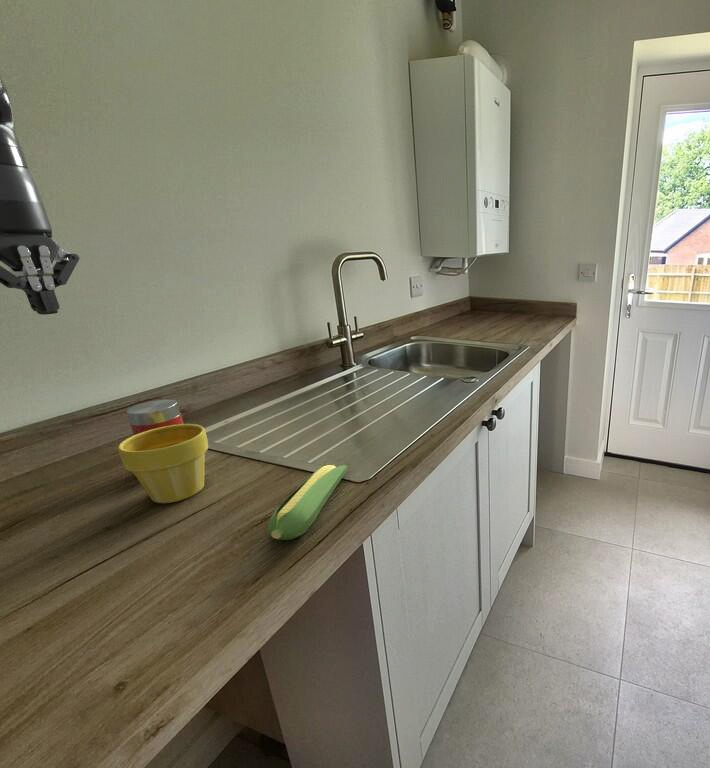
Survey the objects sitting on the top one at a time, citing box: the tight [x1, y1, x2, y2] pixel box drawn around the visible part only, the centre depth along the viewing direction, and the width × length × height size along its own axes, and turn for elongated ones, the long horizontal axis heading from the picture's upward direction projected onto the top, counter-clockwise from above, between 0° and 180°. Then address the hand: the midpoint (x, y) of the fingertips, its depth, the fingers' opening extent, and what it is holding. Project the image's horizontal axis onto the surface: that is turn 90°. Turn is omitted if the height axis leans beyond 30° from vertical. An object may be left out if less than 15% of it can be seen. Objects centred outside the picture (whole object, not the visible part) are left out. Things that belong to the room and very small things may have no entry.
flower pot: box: [117, 423, 209, 504], centre depth 64 cm, size 10×10×10 cm
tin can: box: [126, 399, 185, 436], centre depth 72 cm, size 7×7×12 cm
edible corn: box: [268, 460, 350, 541], centre depth 61 cm, size 5×20×5 cm, turn 179°
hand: (47, 313), depth 67 cm, fingers closed
